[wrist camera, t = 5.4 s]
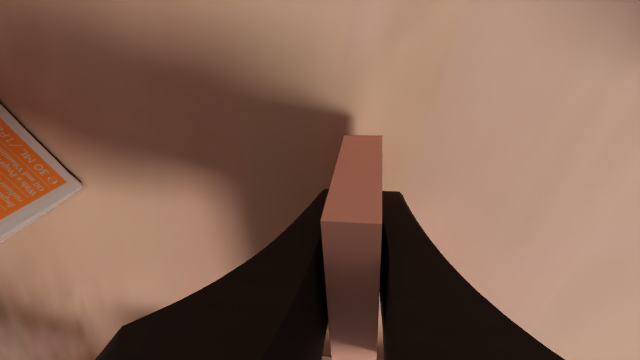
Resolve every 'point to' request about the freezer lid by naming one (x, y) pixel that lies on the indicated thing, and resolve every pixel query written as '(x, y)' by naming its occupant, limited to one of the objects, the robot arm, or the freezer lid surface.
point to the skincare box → (28, 178)
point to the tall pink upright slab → (354, 248)
